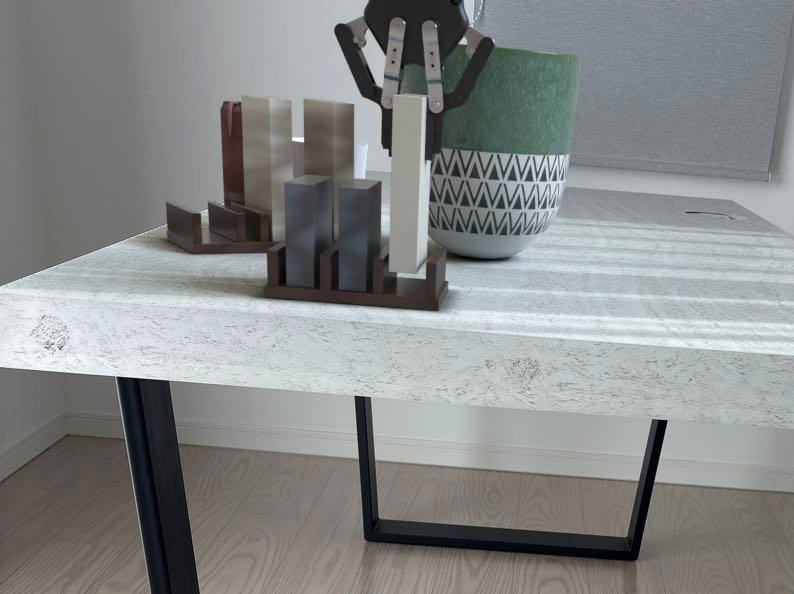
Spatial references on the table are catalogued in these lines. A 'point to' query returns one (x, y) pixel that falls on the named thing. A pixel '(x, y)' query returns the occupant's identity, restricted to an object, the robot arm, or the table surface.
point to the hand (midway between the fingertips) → (412, 157)
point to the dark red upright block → (232, 152)
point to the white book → (409, 184)
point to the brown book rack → (271, 176)
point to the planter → (501, 150)
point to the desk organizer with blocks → (344, 251)
